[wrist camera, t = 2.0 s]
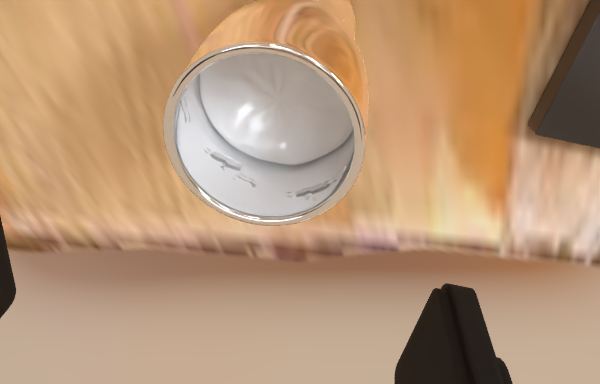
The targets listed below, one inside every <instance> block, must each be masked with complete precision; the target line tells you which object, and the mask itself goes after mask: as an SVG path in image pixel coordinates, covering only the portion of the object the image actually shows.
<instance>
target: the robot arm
mask: <svg viewBox="0 0 600 384" xmlns="http://www.w3.org/2000/svg"><path fill="white" fill-rule="evenodd" d="M15 294H16V287H15V282H14V277H13V273H12V268H11V264H10V259H9V254H8V250H7V245H6V240H5V236H4V231H3V226H2V222H1V217H0V318H1V317H2V315H3V314H4V313H5V312H6V311H7V309H8V308H9V307H10V305H11V304H12V302H13V300H14V298H15ZM395 384H512V381H511V378H510V375H509V372H508V369H507V367H506V365H505V363H504V362H503V361H502V360H501V359H500V358H497V357H496V356H495V352H494V349H493V346H492V343H491V340H490V337H489V334H488V331H487V327H486V324H485V321H484V318H483V315H482V311H481V308H480V305H479V302H478V299H477V296H476V293H475V291H474V290H473V289H472V288H467V287H462V286H457V285H453V284H444V285H443V286H442V288H441V289H437V288H435V289H434V290H433V291H432V293H431V295H430V297H429V299H428V301H427V303H426V305H425V307H424V309H423V311H422V313H421V316H420V318H419V320H418V322H417V324H416V326H415V328H414V330H413V332H412V334H411V336H410V338H409V340H408V343H407V345H406V347H405V349H404V351H403V353H402V355H401V357H400V359H399V361H398V363H397V366H396V370H395Z"/></svg>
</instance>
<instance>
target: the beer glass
mask: <svg viewBox="0 0 600 384" xmlns="http://www.w3.org/2000/svg"><path fill="white" fill-rule="evenodd" d="M355 30H356V23H355V15H354V11H353V8H352V5H351V3H350V1H349V0H257V1H254V2H252V3H249V4H247V5H245V6H243V7H241V8H239V9H238V10H236V11H235V12H233V13H232V14H231V15H229V16H228V17H227V18H226V19H225V20H224V21H222V22H221V23H220V24H219V25H218V26H217V27H216V28H215V29H214V30H213V31H212V32H211V33H210V34H209V36H208V37H207V38H206V39H205V41H204V42H203V43H202V44H201V46H200V47H199V48H198V50H197V51H196V53H195V54H194V56H193V57H192V59H191V61H190V62H189V64H188V66H187V67H186V69H185V71H184V72H183V73H182V74H181V75H180V77H179V78H178V79H177V81H176V82H175V84H174V86H173V88H172V90H171V92H170V94H169V96H168V99H167V102H166V106H165V110H164V117H163V134H164V141H165V146H166V149H167V153H168V155H169V158H170V161H171V163H172V165H173V167H174V169H175V170H176V172H177V174H178V175H179V177H180V178H181V180H182V181H183V182H184V184H185V185H186V186H187V187H188V188H189V189H190V190H191V191H192V192H193V193H194V194H195V195H196V196H197V197H198V198H199V199H200V200H202V201H203V202H204V203H205V204H207V205H208V206H210V207H211V208H213V209H215V210H216V211H218V212H220V213H222V214H224V215H226V216H228V217H231V218H233V219H236V220H239V221H243V222H247V223H251V224H257V225H266V226H280V225H289V224H295V223H299V222H303V221H306V220H309V219H312V218H314V217H316V216H318V215H320V214H322V213H324V212H326V211H327V210H329V209H330V208H332V207H333V206H334V205H336V204H337V203H338V202H339V201H340V200H341V199H342V198H343V197H344V196H345V195H346V194H347V193H348V191H349V190H350V189H351V187H352V186H353V184H354V183H355V181H356V179H357V177H358V175H359V172H360V170H361V167H362V164H363V160H364V155H365V145H366V138H365V136H366V130H367V121H368V111H369V88H368V79H367V74H366V68H365V63H364V59H363V56H362V53H361V51H360V48H359V46H358V44H357V42H356V40H355V38H354V37H355Z"/></svg>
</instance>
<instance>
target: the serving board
mask: <svg viewBox="0 0 600 384" xmlns="http://www.w3.org/2000/svg"><path fill="white" fill-rule="evenodd" d="M528 126H529V127H530V128H531V130H532V131H533V132H534V134H535V135H539V136H543V137H548V138H553V139H558V140H562V141H567V142H572V143H577V144H581V145H586V146H591V147H596V148H600V0H591V1H590V3H589V5H588V7H587V9H586V11H585V13H584V15H583V17H582V19H581V21H580V23H579V25H578V27H577V29H576V31H575V33H574V34H573V36H572V38H571V40H570V42H569V44H568V46H567V48H566V50H565V52H564V54H563V56H562V58H561V60H560V62H559V64H558V66H557V68H556V70H555V72H554V74H553V76H552V78H551V80H550V82H549V84H548V86H547V88H546V90H545V92H544V94H543V96H542V98H541V100H540V101H539V103H538V105H537V107H536V109H535V111H534V113H533V115H532V117H531V119H530V121H529V123H528Z"/></svg>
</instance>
